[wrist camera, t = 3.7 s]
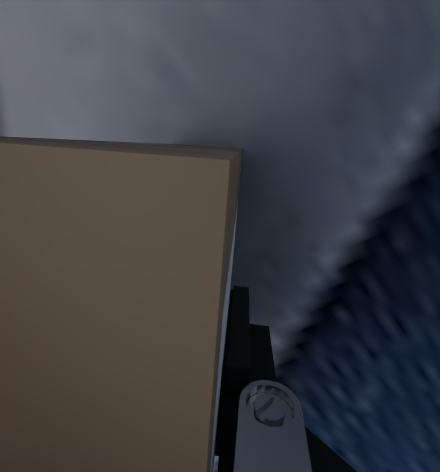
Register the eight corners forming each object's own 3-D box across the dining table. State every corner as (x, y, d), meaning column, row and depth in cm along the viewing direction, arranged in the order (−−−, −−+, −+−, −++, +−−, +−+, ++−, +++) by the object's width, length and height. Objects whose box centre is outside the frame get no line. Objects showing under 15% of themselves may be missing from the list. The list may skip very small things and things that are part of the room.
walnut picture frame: (242, 149, 10) (231, 160, 1) (219, 409, 14) (177, 851, 5) (173, 144, 10) (-212, 125, 2) (168, 403, 14) (43, 821, 5)
